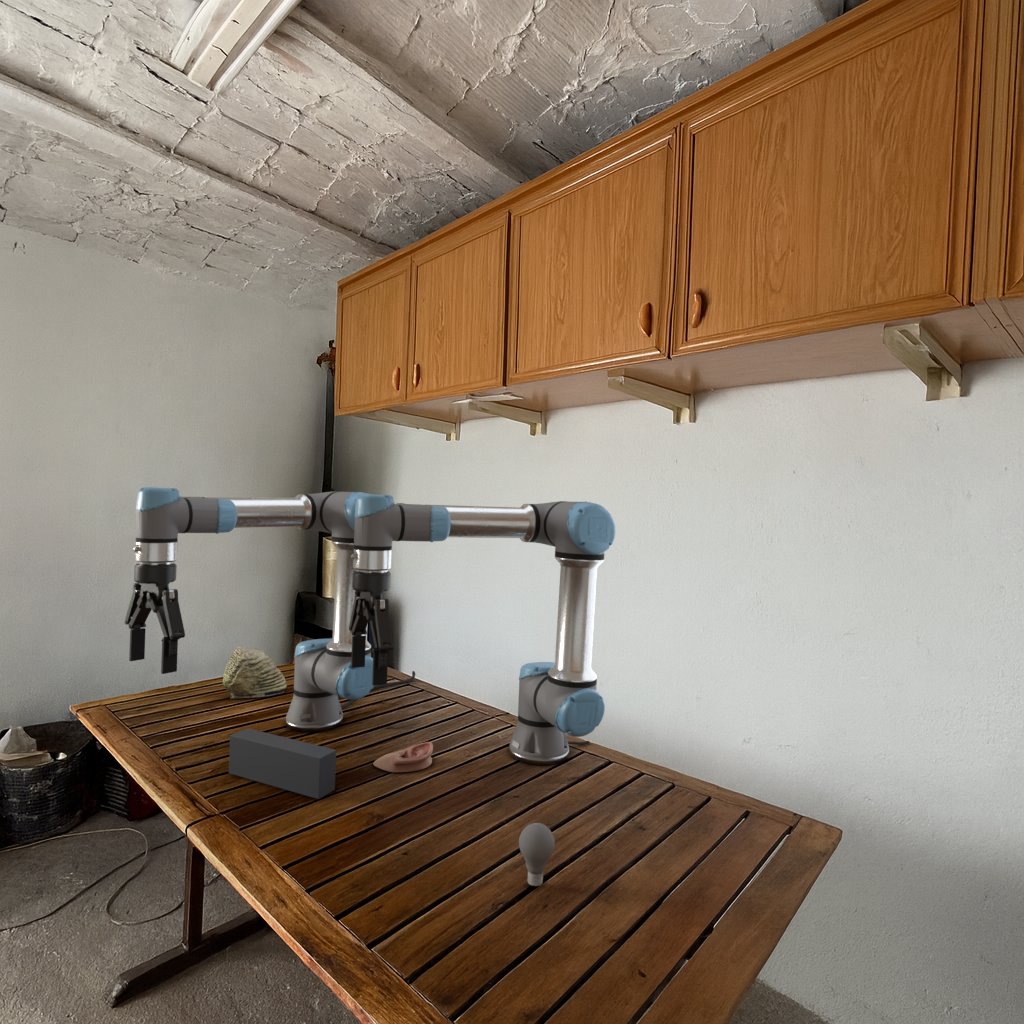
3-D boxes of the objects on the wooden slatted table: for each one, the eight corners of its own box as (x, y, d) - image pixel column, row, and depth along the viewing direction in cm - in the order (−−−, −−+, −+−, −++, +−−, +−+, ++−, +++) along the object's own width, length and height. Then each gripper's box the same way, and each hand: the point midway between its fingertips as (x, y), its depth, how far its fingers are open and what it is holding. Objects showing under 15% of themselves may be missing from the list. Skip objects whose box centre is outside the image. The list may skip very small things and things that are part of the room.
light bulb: (515, 873, 109) (518, 816, 109) (550, 873, 109) (552, 816, 109) (518, 895, 103) (521, 834, 103) (555, 895, 104) (558, 834, 103)
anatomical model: (368, 752, 148) (387, 734, 159) (367, 769, 148) (386, 750, 159) (422, 759, 145) (438, 741, 156) (421, 776, 145) (437, 757, 156)
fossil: (218, 695, 195) (220, 647, 195) (278, 685, 208) (279, 640, 207) (228, 703, 189) (230, 653, 188) (289, 692, 201) (290, 645, 201)
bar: (228, 773, 143) (229, 735, 143) (246, 765, 148) (247, 728, 147) (318, 799, 133) (320, 758, 132) (334, 789, 137) (336, 749, 137)
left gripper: (108, 558, 134) (105, 658, 134) (167, 569, 119) (163, 682, 119) (146, 556, 140) (142, 652, 140) (206, 567, 125) (202, 674, 126)
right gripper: (336, 564, 136) (332, 662, 137) (374, 579, 115) (370, 695, 115) (370, 563, 140) (366, 658, 141) (412, 577, 119) (408, 690, 119)
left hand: (152, 666), depth 130 cm, fingers open, 13 cm apart
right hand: (368, 675), depth 128 cm, fingers open, 13 cm apart
